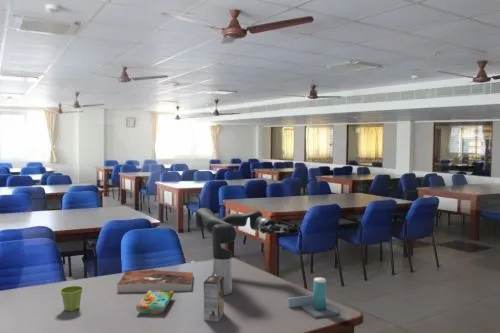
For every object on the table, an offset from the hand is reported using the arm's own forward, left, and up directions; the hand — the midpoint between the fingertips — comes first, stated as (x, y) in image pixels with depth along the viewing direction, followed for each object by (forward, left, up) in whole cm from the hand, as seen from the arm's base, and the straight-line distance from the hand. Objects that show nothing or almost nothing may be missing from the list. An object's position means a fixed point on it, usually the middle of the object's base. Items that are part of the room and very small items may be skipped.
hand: (280, 231), depth 212 cm
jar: (+7, -27, -29) cm, 40 cm away
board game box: (-54, +33, -31) cm, 70 cm away
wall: (+5, -19, -30) cm, 36 cm away
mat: (+7, -27, -30) cm, 41 cm away
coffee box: (-38, -18, -30) cm, 52 cm away
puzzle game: (-59, +2, -31) cm, 66 cm away
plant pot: (-94, +11, -30) cm, 99 cm away
